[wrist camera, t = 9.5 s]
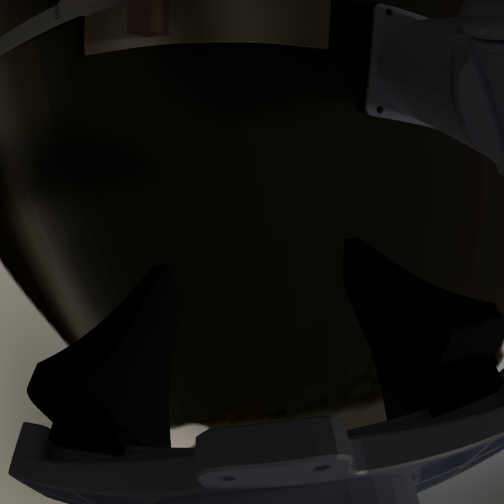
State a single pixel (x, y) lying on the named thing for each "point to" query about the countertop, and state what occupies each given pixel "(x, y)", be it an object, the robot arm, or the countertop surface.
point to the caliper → (52, 20)
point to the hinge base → (208, 23)
